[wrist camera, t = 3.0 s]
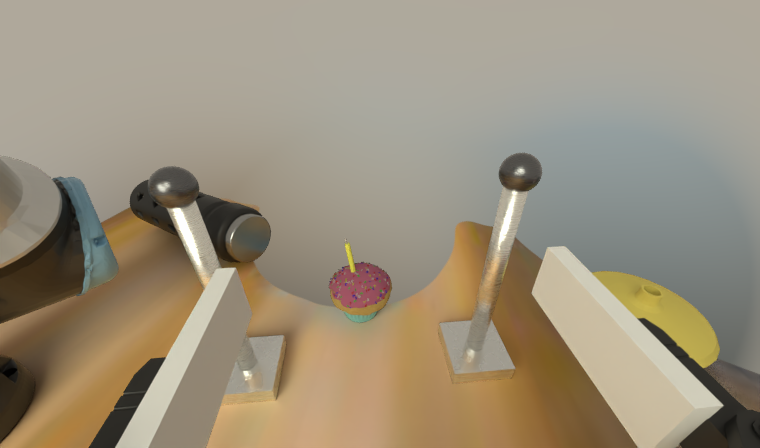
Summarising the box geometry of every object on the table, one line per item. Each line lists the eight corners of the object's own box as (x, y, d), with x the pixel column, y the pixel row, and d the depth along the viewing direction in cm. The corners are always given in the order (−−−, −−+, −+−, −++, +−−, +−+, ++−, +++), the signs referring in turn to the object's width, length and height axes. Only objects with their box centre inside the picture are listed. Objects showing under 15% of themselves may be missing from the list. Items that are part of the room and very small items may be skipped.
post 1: (210, 406, 33) (78, 192, 19) (231, 349, 39) (142, 153, 25) (275, 400, 34) (195, 187, 19) (286, 344, 39) (231, 149, 25)
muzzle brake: (187, 213, 68) (169, 170, 62) (279, 250, 56) (268, 201, 51) (142, 234, 61) (117, 188, 55) (237, 281, 49) (218, 229, 44)
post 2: (452, 383, 35) (500, 173, 21) (437, 332, 41) (466, 141, 26) (511, 378, 35) (597, 169, 21) (488, 328, 41) (543, 138, 27)
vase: (618, 277, 50) (638, 242, 46) (738, 363, 37) (779, 325, 33) (538, 298, 46) (552, 263, 42) (639, 402, 33) (673, 364, 29)
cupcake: (320, 316, 43) (308, 250, 37) (355, 280, 49) (350, 218, 43) (370, 344, 39) (367, 275, 33) (401, 301, 45) (404, 236, 39)
